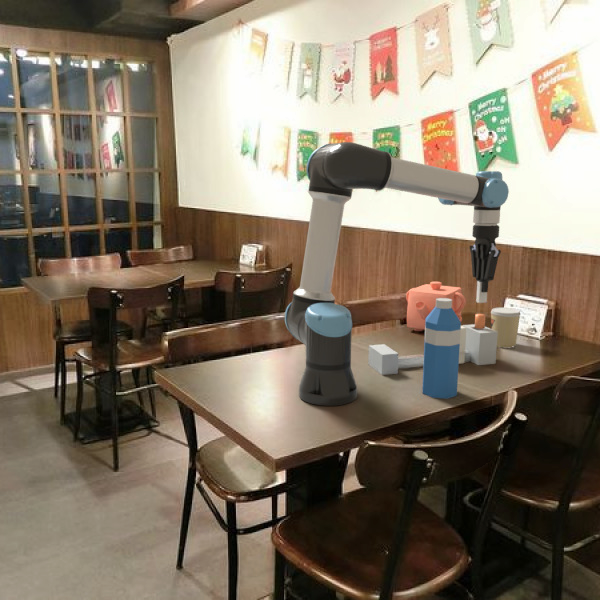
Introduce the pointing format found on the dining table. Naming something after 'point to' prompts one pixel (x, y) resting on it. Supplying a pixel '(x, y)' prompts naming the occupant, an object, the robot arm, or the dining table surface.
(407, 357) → the rail
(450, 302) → the water bottle
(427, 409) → the dining table surface
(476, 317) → the button
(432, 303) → the teapot
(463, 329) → the block
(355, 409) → the dining table surface
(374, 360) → the block
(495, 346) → the grey block with recess
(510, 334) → the coffee cup
